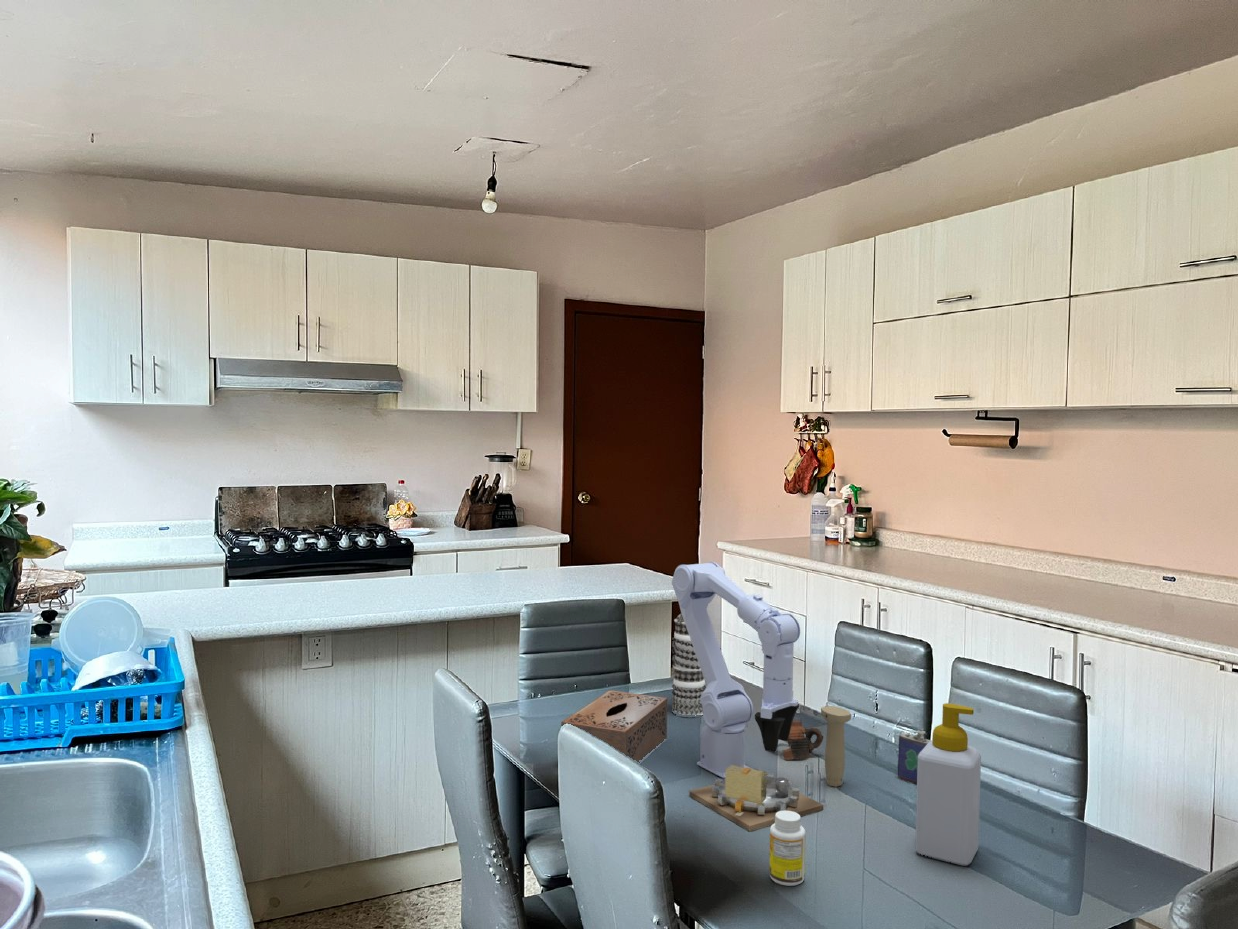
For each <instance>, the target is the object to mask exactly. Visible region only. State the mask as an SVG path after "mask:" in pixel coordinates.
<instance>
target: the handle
mask: <svg viewBox="0 0 1238 929" xmlns="http://www.w3.org/2000/svg"><path fill="white" fill-rule="evenodd" d="M820 715H821V716H822V717H823V719H824V720H825V721H826V722H827V723H826V736H825V749H824V750H825V751H824V770H825V771H824V772H825V779H826V784H827V785H828V786H831V787H836V788H837V787H842V785H843V781H844V780H843V777H844V774H845V773H844V772H845V764H846V763H845V762H846V760H845V759H846V756H845V755H846V752H845V750H846V749H845V724H846V723H848V722H850V721H851V719H852V713H851V712H850V711H849V710H847V709H846V708H842V707H839V706H835V705H834V706H833V705H829V706H828V705H827V706H822V707H821V708H820Z"/></svg>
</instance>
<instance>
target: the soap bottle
mask: <svg viewBox="0 0 1238 929" xmlns="http://www.w3.org/2000/svg"><path fill="white" fill-rule="evenodd" d="M960 714H962V715H971V716H973V715H974V707H973V708H972V707H970V706H966V705H965V706H964V705H960V704H957V703H950V702H947V703H946V702H945V703H943V704H942V719H941V720H942V722H941V724H938V725H937V726H935V727H934V729H933V732H932V739H931V740H932V741H930V742H929V743H928V744H927V745H926V746H925V747H924V748H923V750H922V751H921V752H920V753H919V755H918V770H917V784H916V813H915V815H916V816H915V845H914V846H915V852H916V853H917V854H918V855H920V854H921V856H923V855H925V856H924V857H927V856H928V857H927V858H931V857H932V858H931V859H934V860H939V861H943V862H947V863H950V862H951V863H950V864H955V865H959V866H968V865H970V864H971V863H972V861H973V859H974V858H975V855H976V853H977V851H978V850H979V840H980V839H979V838H980V837H979V836H980V835H979V834H980V807H981V806H980V805H981V801H980V800H981V774H982V773H981V769H982V767H981V765H982V755H981V753H980V751H979V750H978V749H977V748H975V747H974V746H970V745H969V744H968V743H969V741H968V740H969V739H968V738H969V737H968V734H967V731H966V729H964V728H963V727H961V726H960V724H959V722H960V721H959V720H960V719H959V718H960Z"/></svg>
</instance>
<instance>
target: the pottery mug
mask: <svg viewBox="0 0 1238 929" xmlns="http://www.w3.org/2000/svg"><path fill="white" fill-rule="evenodd" d="M814 735H815V736H816V739H815V740H814V742H813V741H812V738H813V736H814ZM779 740H780V741H784V742H787V744H788V745H789V746H790V747H789V748H786V749H783V750H782V754H783V759H784V761H791V760H803V759H804V760H808V759H809V753H810V754H812V753H813V751H814V750H815V749H817V748H819V747H820V746H821V744H822V742H823V740H824V735H822V731H821V730H820V729H819V728H815V727H812V728H805V727H803V722H801V721H799V720H798V721H797V720H796V721H794V720H793V722H792V725H791V730H790V734H789V738H788V740H782V739H779ZM779 740H778V741H779Z"/></svg>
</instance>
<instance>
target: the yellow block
mask: <svg viewBox="0 0 1238 929" xmlns="http://www.w3.org/2000/svg"><path fill="white" fill-rule="evenodd" d="M747 767H748V766H747ZM747 767H746V768H744V767H739V766H734V765H731V766H730V767H728V768H727V769H726V772H725V778H724V779H725V797H729V798H734V799H739V800H743V801H748V802H753V803H757V804H762V803H763V801H764V800H765V799H766V783H767V775H768V774H767V771H764V770H759V769H754V768H751V767H749V768H747Z"/></svg>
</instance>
